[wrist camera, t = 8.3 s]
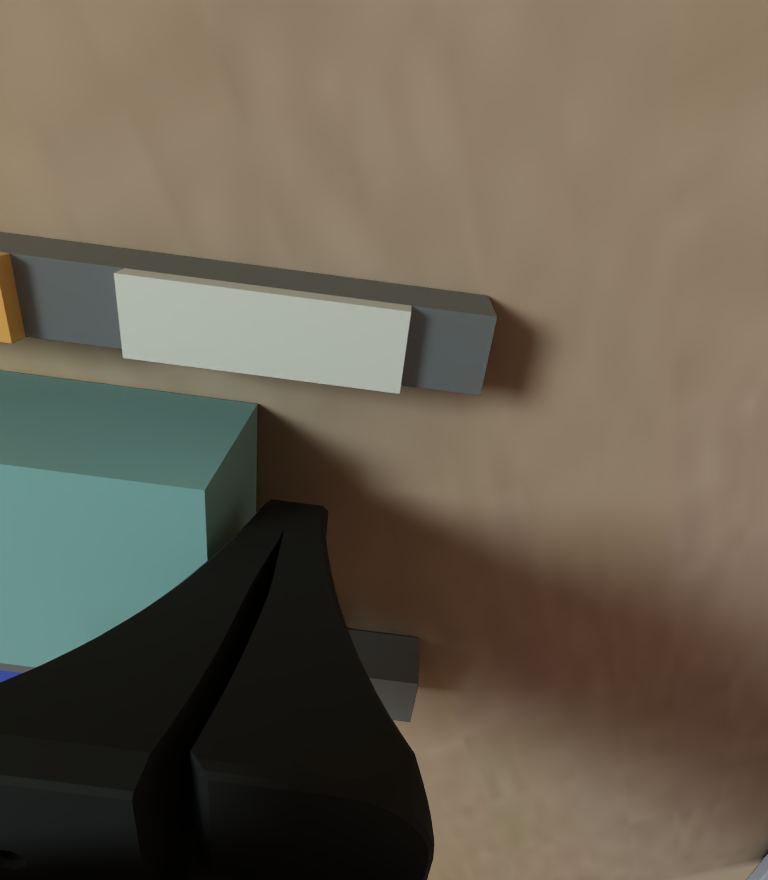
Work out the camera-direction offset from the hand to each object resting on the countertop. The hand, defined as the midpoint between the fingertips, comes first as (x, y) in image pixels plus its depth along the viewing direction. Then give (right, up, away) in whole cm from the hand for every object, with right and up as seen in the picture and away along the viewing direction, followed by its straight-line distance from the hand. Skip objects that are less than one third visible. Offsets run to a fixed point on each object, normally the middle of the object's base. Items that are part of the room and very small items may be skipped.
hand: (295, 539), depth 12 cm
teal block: (-4, +1, +1) cm, 4 cm away
